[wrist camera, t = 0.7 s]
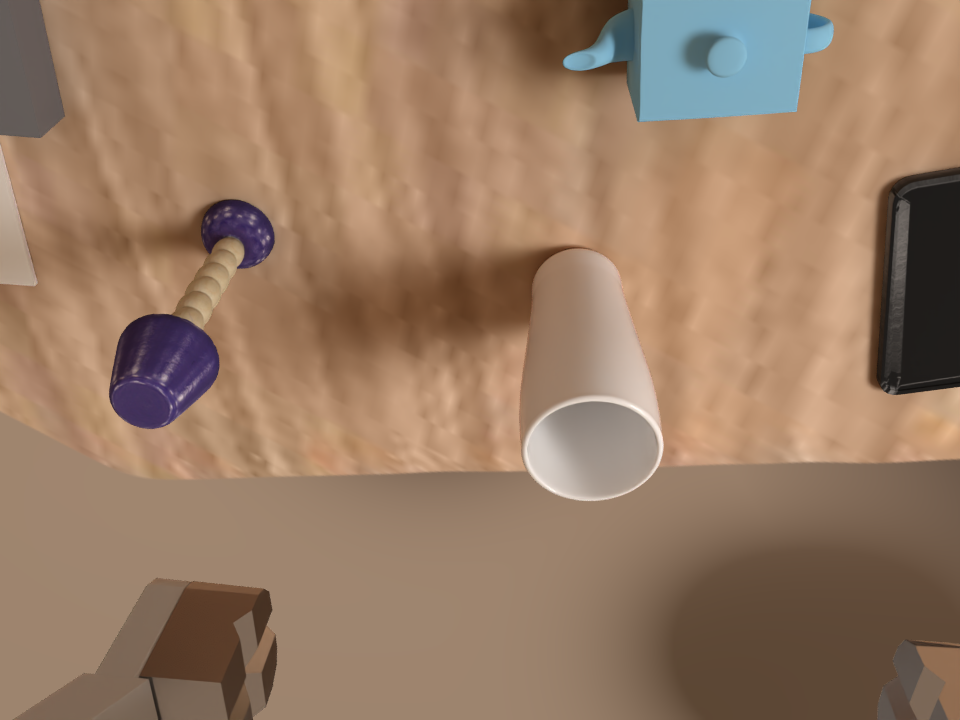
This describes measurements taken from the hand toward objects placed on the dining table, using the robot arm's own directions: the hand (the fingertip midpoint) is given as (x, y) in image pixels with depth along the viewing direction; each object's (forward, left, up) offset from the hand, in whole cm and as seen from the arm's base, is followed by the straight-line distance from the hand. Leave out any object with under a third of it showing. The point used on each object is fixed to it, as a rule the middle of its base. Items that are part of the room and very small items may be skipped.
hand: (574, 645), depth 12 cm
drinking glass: (+18, +4, -39) cm, 43 cm away
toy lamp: (+16, -16, -39) cm, 45 cm away
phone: (+16, +26, -39) cm, 50 cm away
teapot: (+2, +7, -39) cm, 40 cm away
